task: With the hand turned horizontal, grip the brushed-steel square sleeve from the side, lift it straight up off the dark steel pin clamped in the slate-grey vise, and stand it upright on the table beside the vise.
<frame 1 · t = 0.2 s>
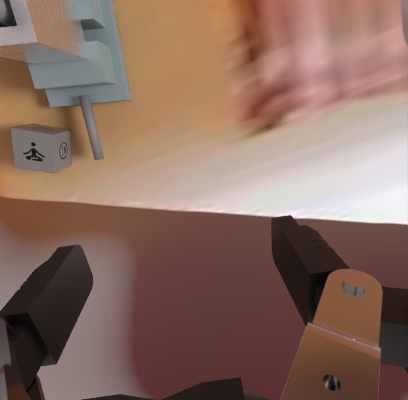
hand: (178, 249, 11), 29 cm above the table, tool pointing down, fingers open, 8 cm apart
dice cube: (54, 144, 37), on the table
steel sleeve: (57, 33, 27), point 6 cm above the table, touching vise
vise: (80, 44, 33), on the table
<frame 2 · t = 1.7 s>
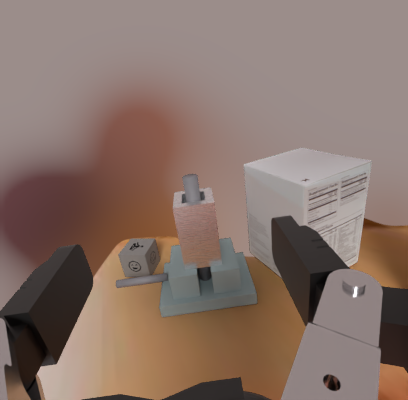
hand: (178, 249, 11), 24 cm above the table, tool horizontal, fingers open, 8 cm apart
dice cube: (143, 269, 49), on the table
supplement box: (300, 257, 46), on the table
steel sleeve: (202, 256, 40), point 6 cm above the table, touching vise
vise: (207, 286, 42), on the table
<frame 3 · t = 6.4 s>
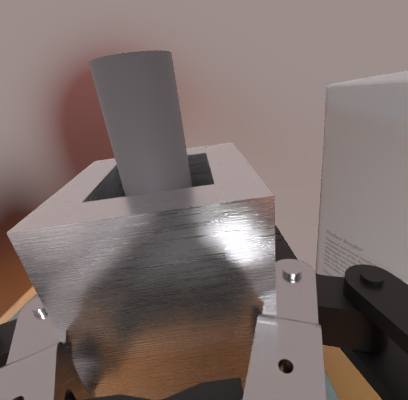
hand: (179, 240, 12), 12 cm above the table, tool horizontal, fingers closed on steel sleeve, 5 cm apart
steel sleeve: (200, 383, 12), point 6 cm above the table, touching gripper, vise
when the fingers open (7 cm above the table, at t = 15.4 s): steel sleeve drops 1 cm, on the table.
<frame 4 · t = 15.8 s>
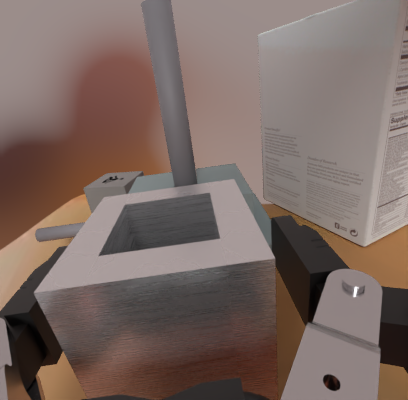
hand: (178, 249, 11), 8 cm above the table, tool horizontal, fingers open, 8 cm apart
dice cube: (125, 218, 33), on the table
supplement box: (346, 202, 29), on the table
vise: (195, 241, 25), on the table
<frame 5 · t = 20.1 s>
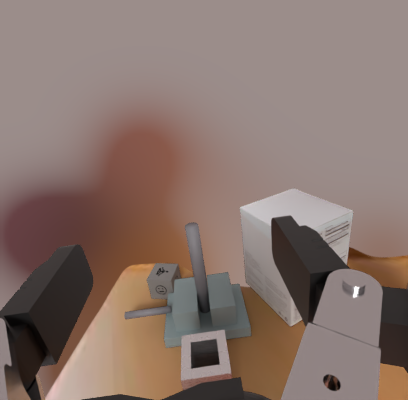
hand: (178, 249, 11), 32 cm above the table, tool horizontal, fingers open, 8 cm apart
dice cube: (167, 291, 55), on the table
supplement box: (291, 289, 51), on the table
vise: (206, 316, 47), on the table
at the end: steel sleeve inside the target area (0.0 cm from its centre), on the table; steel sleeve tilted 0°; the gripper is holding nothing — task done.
